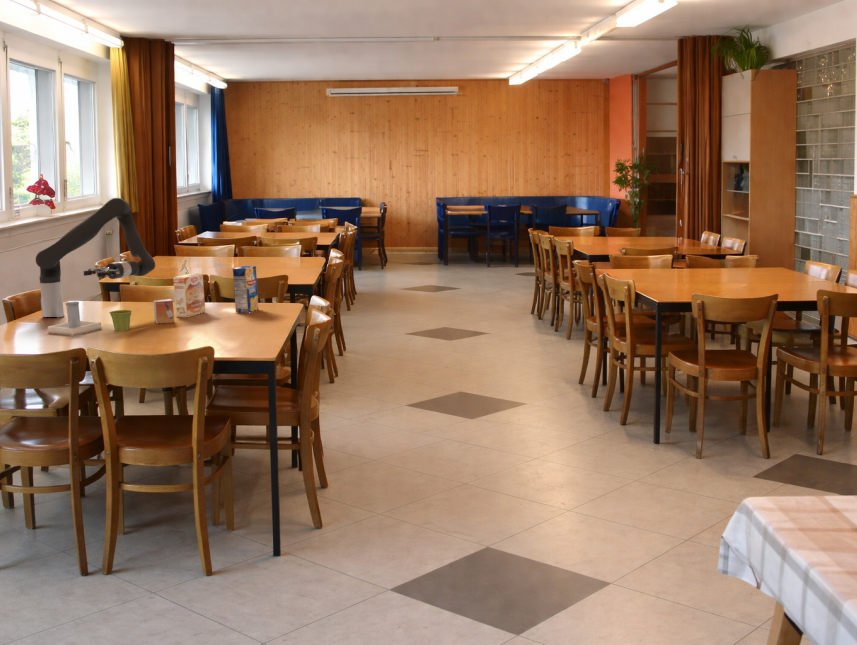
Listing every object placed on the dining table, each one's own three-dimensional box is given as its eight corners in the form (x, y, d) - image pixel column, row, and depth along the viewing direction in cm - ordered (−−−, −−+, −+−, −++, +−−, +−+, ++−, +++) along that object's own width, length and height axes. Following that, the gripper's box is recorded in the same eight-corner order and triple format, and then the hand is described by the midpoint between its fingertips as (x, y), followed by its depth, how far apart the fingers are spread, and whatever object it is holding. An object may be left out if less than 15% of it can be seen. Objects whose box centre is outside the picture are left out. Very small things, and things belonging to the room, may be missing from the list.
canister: (65, 330, 358) (62, 303, 356) (75, 327, 363) (72, 301, 361) (74, 330, 356) (71, 304, 354) (84, 328, 361) (81, 302, 359)
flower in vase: (181, 303, 430) (177, 256, 425) (203, 302, 431) (199, 256, 426) (176, 307, 417) (172, 259, 412) (198, 307, 418) (195, 258, 413)
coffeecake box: (187, 317, 389) (184, 277, 385) (175, 317, 391) (172, 277, 388) (206, 312, 403) (203, 273, 399) (194, 311, 405) (191, 272, 401)
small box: (156, 324, 374) (154, 301, 372) (154, 322, 379) (152, 300, 377) (174, 322, 378) (172, 300, 376) (172, 320, 383) (170, 298, 381)
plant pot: (120, 328, 367) (118, 309, 365) (138, 329, 364) (136, 310, 362) (106, 332, 358) (104, 313, 356) (124, 333, 355) (122, 313, 354)
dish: (48, 333, 356) (47, 326, 356) (76, 326, 370) (76, 320, 369) (73, 335, 350) (72, 329, 349) (101, 329, 363) (100, 322, 363)
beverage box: (235, 313, 399) (232, 268, 395) (246, 309, 409) (243, 265, 405) (248, 313, 397) (245, 268, 393) (258, 309, 407) (255, 266, 403)
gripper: (107, 261, 382) (79, 264, 368) (129, 263, 376) (101, 266, 362) (108, 277, 384) (80, 281, 369) (130, 279, 378) (103, 283, 363)
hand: (91, 273), depth 366 cm, fingers open, 8 cm apart
